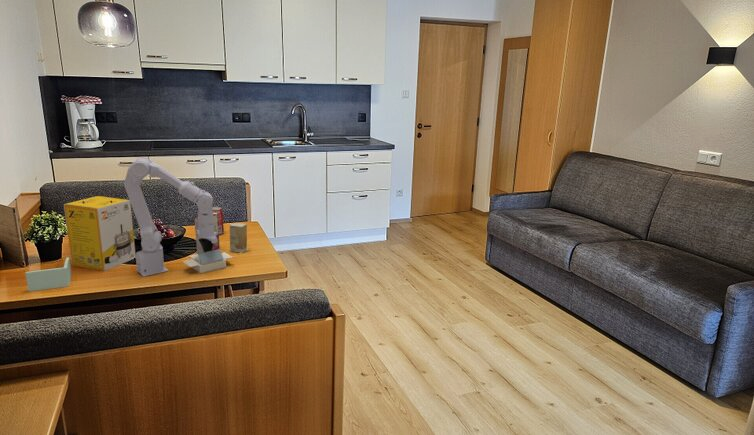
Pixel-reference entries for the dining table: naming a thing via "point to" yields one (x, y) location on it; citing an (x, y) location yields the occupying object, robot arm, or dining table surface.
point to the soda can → (219, 219)
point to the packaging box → (100, 232)
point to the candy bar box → (199, 247)
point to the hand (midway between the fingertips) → (207, 255)
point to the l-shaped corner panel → (49, 278)
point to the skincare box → (238, 237)
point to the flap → (210, 256)
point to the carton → (206, 267)
